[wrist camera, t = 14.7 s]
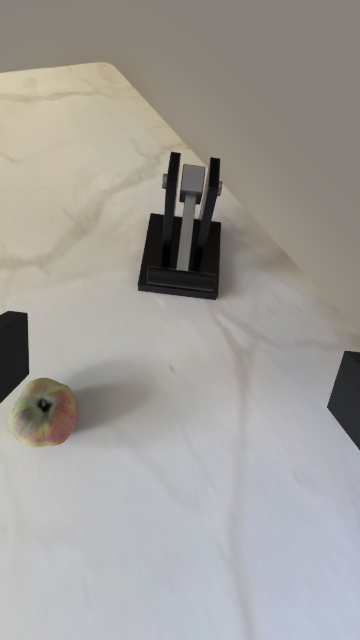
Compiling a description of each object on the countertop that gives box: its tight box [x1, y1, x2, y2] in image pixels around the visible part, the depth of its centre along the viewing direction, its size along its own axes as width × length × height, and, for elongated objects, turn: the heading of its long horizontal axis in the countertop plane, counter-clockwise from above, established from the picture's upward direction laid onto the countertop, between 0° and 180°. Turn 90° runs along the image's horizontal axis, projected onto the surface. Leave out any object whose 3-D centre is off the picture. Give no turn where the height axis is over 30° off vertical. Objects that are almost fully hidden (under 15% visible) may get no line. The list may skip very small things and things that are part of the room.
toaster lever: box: [147, 164, 216, 291], centre depth 31 cm, size 12×6×2 cm, turn 174°
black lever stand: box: [138, 152, 222, 300], centre depth 37 cm, size 12×10×14 cm
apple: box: [8, 378, 78, 447], centre depth 29 cm, size 6×8×6 cm
